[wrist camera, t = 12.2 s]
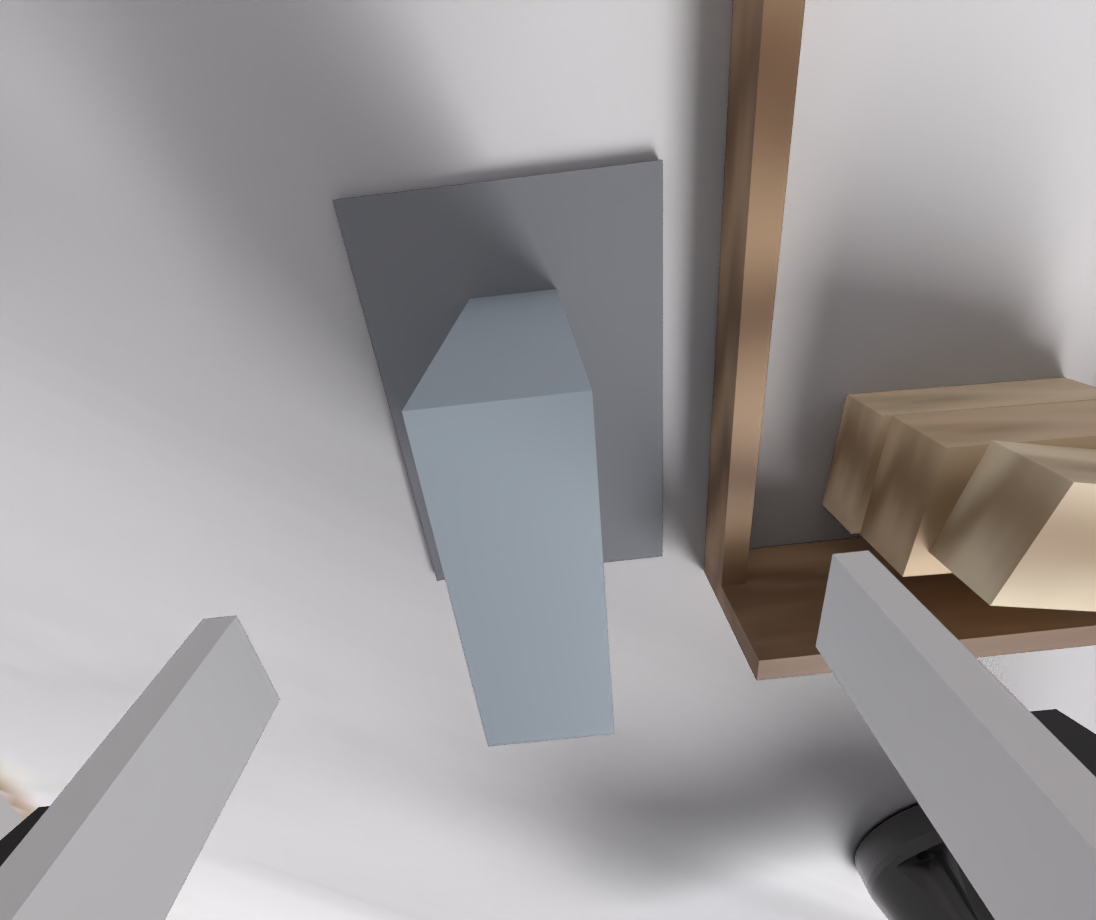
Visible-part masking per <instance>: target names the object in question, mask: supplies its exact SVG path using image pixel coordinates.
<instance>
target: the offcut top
mask: <svg viewBox="0 0 1096 920" xmlns="http://www.w3.org/2000/svg"><path fill="white" fill-rule="evenodd" d="M929 553H930V554H931V555H933V556H934V557H935V558H936V559H937V560H938V561H940V562H941V563H942V564H943V565H944V566H945V567H946V568H948V569H949V570H950V571H951V572H952V573H953V574H954V575H956V576H957V577H958V578H959V579H960V580H961V581H963V582H964V583H965V584H966V585H967V586H968V587H969V588H971V589H972V590H973V591H974V592H975V593H976V594H977V595H979V596H980V597H981V598H982V599H983V600H984V601H986V602H987V603H988V604H989V605H990V606H1006V607H1023V608H1041V609H1059V610H1076V611H1094V612H1096V449H1088V448H1076V447H1064V446H1052V445H1040V444H1029V443H1017V442H1005V441H993V440H992V441H991V443H990V445H989V446H988V448H987V450H986V452H985V453H984V455H983V457H982V459H981V461H980V462H979V464H978V466H977V468H976V469H975V471H974V473H973V475H972V476H971V478H970V480H969V482H968V483H967V485H966V487H965V489H964V491H963V492H962V494H961V496H960V498H959V499H958V501H957V503H956V505H955V506H954V508H953V510H952V512H951V514H950V515H949V517H948V519H947V521H946V522H945V524H944V526H943V528H942V529H941V531H940V533H939V535H938V536H937V538H936V540H935V542H934V544H933V545H932V547H931V549H930V551H929Z"/></svg>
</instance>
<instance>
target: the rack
mask: <svg viewBox="0 0 1096 920" xmlns="http://www.w3.org/2000/svg"><path fill="white" fill-rule="evenodd" d="M804 8H805V0H733V16H732V35H731V55H730V74H729V94H728V114H727V133H726V153H725V173H724V192H723V212H722V231H721V251H720V271H719V290H718V310H717V329H716V349H715V369H714V388H713V408H712V427H711V447H710V467H709V486H708V506H707V526H706V545H705V565H704V572H705V574H706V576H707V578H708V580H709V582H710V584H711V587H712V589H713V591H714V593H715V595H716V597H717V599H718V601H719V603H720V605H721V607H722V609H723V611H724V614H725V616H726V618H727V620H728V622H729V624H730V626H731V628H732V630H733V632H734V634H735V636H736V639H737V641H738V643H739V645H740V647H741V649H742V651H743V653H744V655H745V657H746V659H747V661H748V664H749V666H750V668H751V670H752V672H753V674H754V676H755V678H756V680H765V679H775V678H784V677H794V676H804V675H813V674H823V673H832V671H831V669H830V668H829V666H828V665H827V663H826V662H825V660H824V658H823V657H822V655H821V654H820V652H819V651H818V649H817V648H816V641H817V636H818V630H819V625H820V620H821V614H822V609H823V603H824V598H825V593H826V587H827V582H828V576H829V571H830V565H831V560H832V555H833V554H838V553H848V552H857V551H867V550H869V551H870V552H871V553H872V554H873V555H874V556H875V557H876V558H877V559H878V560H879V561H880V562H881V563H882V564H883V565H884V566H885V567H886V568H887V569H888V570H889V571H890V572H891V573H892V574H893V575H894V576H895V577H896V578H897V579H898V580H899V581H900V582H901V583H902V584H903V585H904V586H905V587H906V588H907V589H908V590H909V591H910V592H911V593H912V594H913V595H914V596H915V597H916V598H917V599H918V600H919V601H920V602H921V603H922V604H923V605H924V606H925V607H926V608H927V609H928V610H929V611H930V612H931V613H932V614H933V615H934V616H935V617H936V618H937V619H938V620H939V621H940V622H941V623H942V624H943V625H944V626H945V627H946V628H947V629H948V630H949V631H950V632H951V633H952V634H953V635H954V636H955V637H956V638H957V639H958V640H959V641H960V642H961V643H962V644H963V645H964V646H965V647H966V648H967V649H968V650H969V651H970V652H971V653H972V654H973V655H974V656H975V657H986V656H995V655H1005V654H1014V653H1024V652H1033V651H1043V650H1053V649H1062V648H1072V647H1081V646H1091V645H1096V612H1094V611H1076V610H1059V609H1041V608H1023V607H1006V606H990V605H989V604H988V603H987V602H986V601H984V600H983V599H982V598H981V597H980V596H979V595H977V594H976V593H975V592H974V591H973V590H972V589H971V588H969V587H968V586H967V585H966V584H965V583H964V582H963V581H961V580H960V579H959V578H958V577H957V576H956V575H954V574H953V573H946V574H933V575H920V576H908V577H902V576H901V575H900V574H899V573H898V572H897V571H896V570H895V569H894V568H893V567H892V566H891V565H890V564H889V563H888V562H887V561H886V560H885V559H884V558H883V557H882V556H881V555H880V554H879V553H878V552H877V551H876V550H875V549H874V548H873V547H872V546H871V545H870V544H869V543H868V542H867V541H866V540H865V539H864V538H863V537H856V538H847V539H838V540H829V541H820V542H810V543H801V544H792V545H783V546H774V547H765V548H755V549H749V545H750V535H751V525H752V515H753V506H754V496H755V486H756V476H757V466H758V457H759V447H760V437H761V427H762V418H763V408H764V398H765V388H766V379H767V369H768V359H769V349H770V340H771V330H772V320H773V310H774V300H775V291H776V281H777V271H778V261H779V252H780V242H781V232H782V222H783V213H784V203H785V193H786V183H787V174H788V164H789V154H790V144H791V134H792V125H793V115H794V105H795V95H796V86H797V76H798V66H799V56H800V47H801V37H802V27H803V17H804Z"/></svg>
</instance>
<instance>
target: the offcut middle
mask: <svg viewBox="0 0 1096 920" xmlns="http://www.w3.org/2000/svg"><path fill="white" fill-rule="evenodd" d="M992 440H993V441H1005V442H1017V443H1029V444H1040V445H1052V446H1064V447H1076V448H1088V449H1096V400H1086V401H1074V402H1061V403H1048V404H1035V405H1023V406H1010V407H997V408H985V409H972V410H959V411H947V412H934V413H922V414H909V415H896V416H892V418H891V421H890V425H889V429H888V432H887V436H886V440H885V443H884V447H883V451H882V455H881V458H880V462H879V466H878V469H877V473H876V477H875V480H874V484H873V488H872V491H871V495H870V499H869V502H868V506H867V510H866V513H865V517H864V521H863V525H862V528H861V532H860V535H861V536H862V537H863V538H864V539H865V540H866V541H867V542H868V543H869V544H870V545H871V546H872V547H873V548H874V549H875V550H876V551H877V552H878V553H879V554H880V555H881V556H882V557H883V558H884V559H885V560H886V561H887V562H888V563H889V564H890V565H891V566H892V567H893V568H894V569H895V570H896V571H897V572H898V573H899V574H900V575H901V576H902V577H908V576H920V575H933V574H946V573H952V572H951V571H950V570H949V569H948V568H946V567H945V566H944V565H943V564H942V563H941V562H940V561H938V560H937V559H936V558H935V557H934V556H933V555H931V554H930V553H929V551H930V549H931V547H932V545H933V544H934V542H935V540H936V538H937V536H938V535H939V533H940V531H941V529H942V528H943V526H944V524H945V522H946V521H947V519H948V517H949V515H950V514H951V512H952V510H953V508H954V506H955V505H956V503H957V501H958V499H959V498H960V496H961V494H962V492H963V491H964V489H965V487H966V485H967V483H968V482H969V480H970V478H971V476H972V475H973V473H974V471H975V469H976V468H977V466H978V464H979V462H980V461H981V459H982V457H983V455H984V453H985V452H986V450H987V448H988V446H989V445H990V443H991V441H992Z"/></svg>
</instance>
